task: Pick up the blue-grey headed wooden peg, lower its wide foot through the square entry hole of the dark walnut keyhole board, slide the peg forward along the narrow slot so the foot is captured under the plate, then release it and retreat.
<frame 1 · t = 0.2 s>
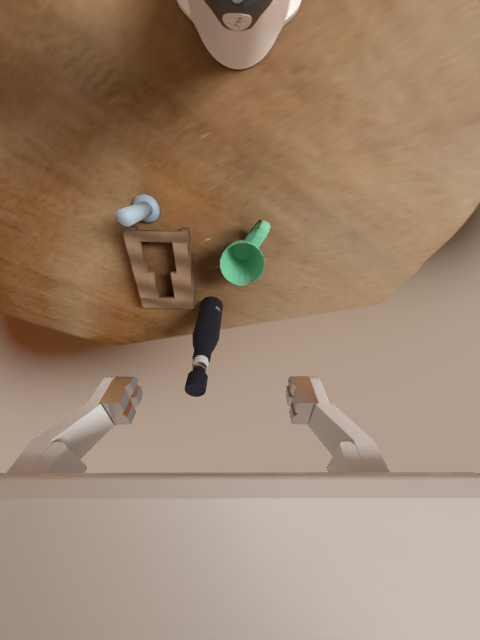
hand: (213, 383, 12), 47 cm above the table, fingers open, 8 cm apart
peg: (147, 208, 49), on the table
keyhole board: (166, 267, 57), on the table
mug: (246, 242, 54), on the table
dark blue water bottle: (212, 305, 64), on the table
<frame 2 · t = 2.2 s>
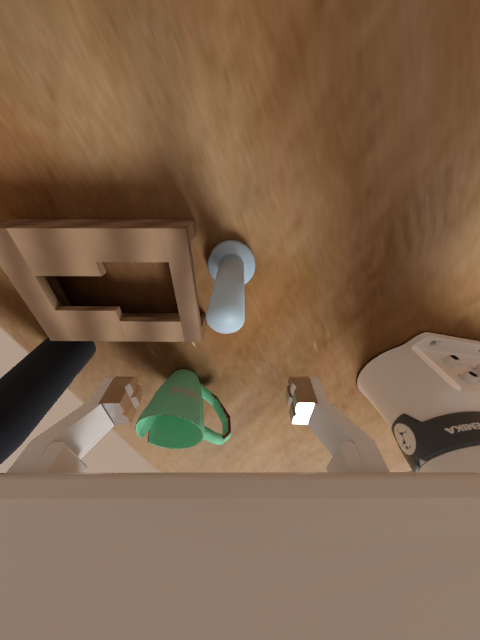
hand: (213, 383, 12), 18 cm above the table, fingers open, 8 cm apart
peg: (232, 263, 26), on the table
keyhole board: (124, 277, 28), on the table
mug: (197, 381, 40), on the table
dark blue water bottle: (75, 342, 35), on the table
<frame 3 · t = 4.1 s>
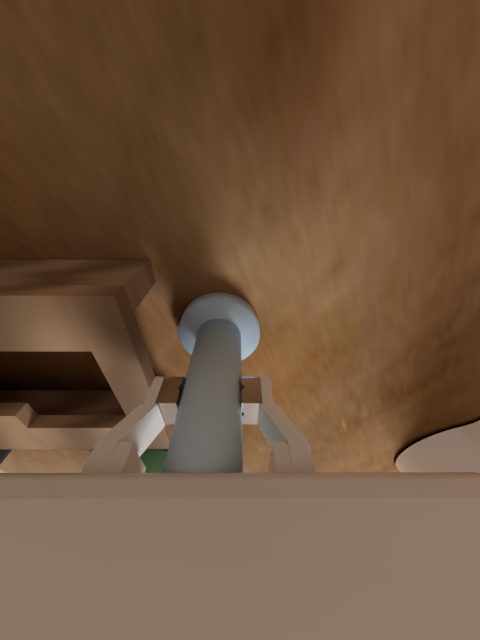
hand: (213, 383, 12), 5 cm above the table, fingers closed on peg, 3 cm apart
peg: (220, 326, 16), on the table, touching gripper
keyhole board: (43, 346, 17), on the table
mug: (177, 460, 29), on the table
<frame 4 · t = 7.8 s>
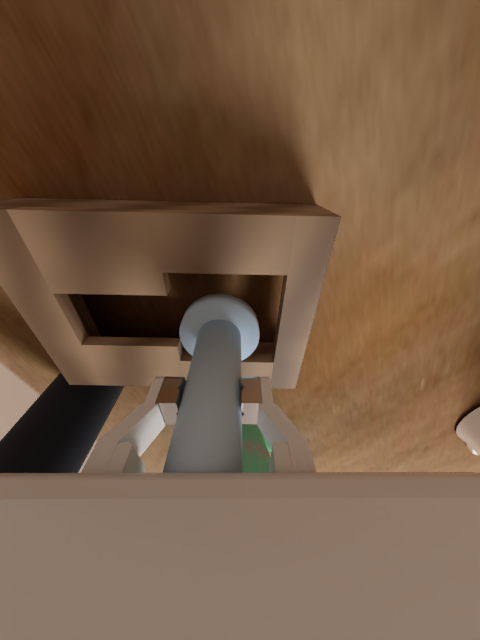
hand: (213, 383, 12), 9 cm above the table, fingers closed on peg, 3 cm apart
peg: (220, 326, 16), point 4 cm above the table, touching gripper
keyhole board: (183, 292, 19), on the table
mug: (251, 421, 31), on the table
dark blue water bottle: (97, 375, 25), on the table
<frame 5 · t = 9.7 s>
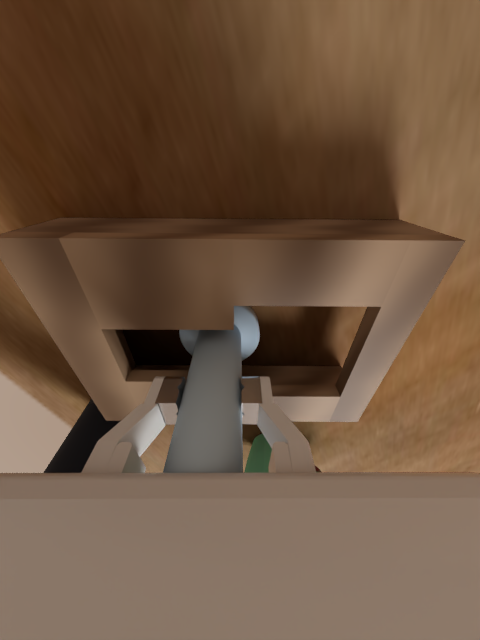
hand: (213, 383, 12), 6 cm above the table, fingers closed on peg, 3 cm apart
peg: (221, 326, 16), point 1 cm above the table, touching gripper
keyhole board: (232, 316, 17), on the table
mug: (286, 444, 29), on the table
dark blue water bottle: (126, 401, 23), on the table
when the fingers open (6 cm above the table, at t = 11.6 s): peg stays where it is, resting in keyhole board.
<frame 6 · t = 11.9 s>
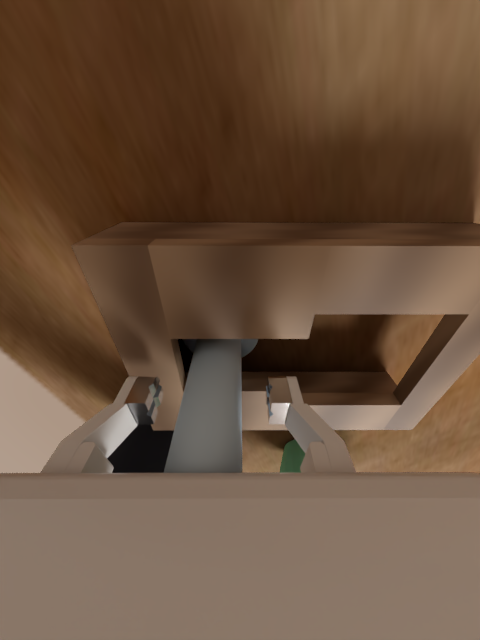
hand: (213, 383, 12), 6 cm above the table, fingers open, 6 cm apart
peg: (221, 324, 16), resting in keyhole board
keyhole board: (283, 322, 16), on the table
mug: (316, 449, 28), on the table
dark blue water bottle: (160, 408, 23), on the table, touching arm
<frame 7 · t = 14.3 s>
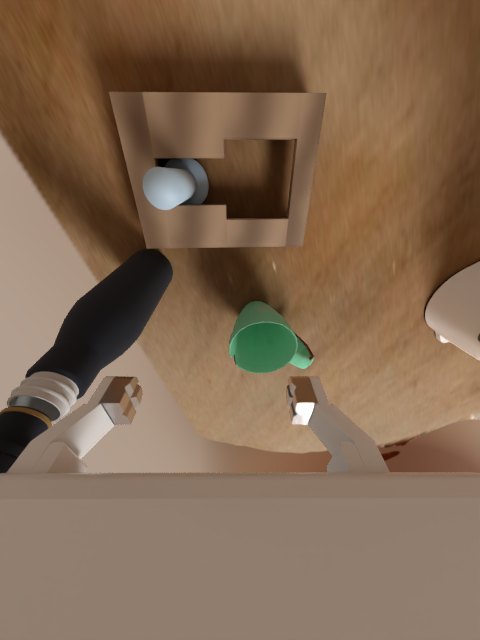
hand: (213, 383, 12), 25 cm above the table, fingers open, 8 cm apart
peg: (186, 183, 27), resting in keyhole board
keyhole board: (223, 181, 27), on the table
mug: (267, 317, 39), on the table
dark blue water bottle: (152, 269, 34), on the table
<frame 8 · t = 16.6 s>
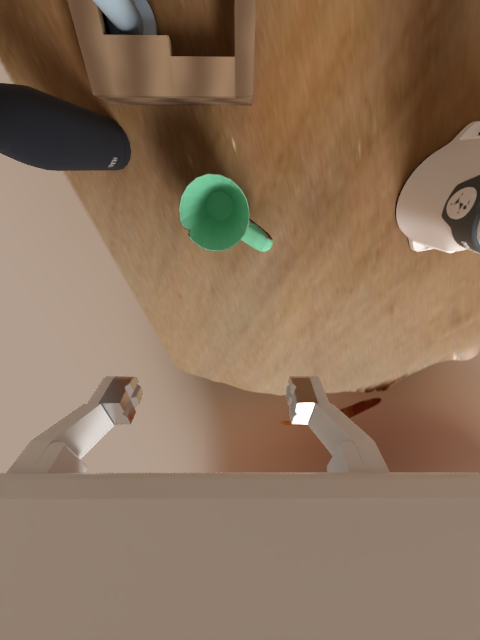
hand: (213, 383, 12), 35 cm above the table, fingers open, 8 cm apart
peg: (134, 28, 27), resting in keyhole board
keyhole board: (172, 25, 26), on the table
mug: (232, 213, 39), on the table
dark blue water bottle: (110, 145, 33), on the table
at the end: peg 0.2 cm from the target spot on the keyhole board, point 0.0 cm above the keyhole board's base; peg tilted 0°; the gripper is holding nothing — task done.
